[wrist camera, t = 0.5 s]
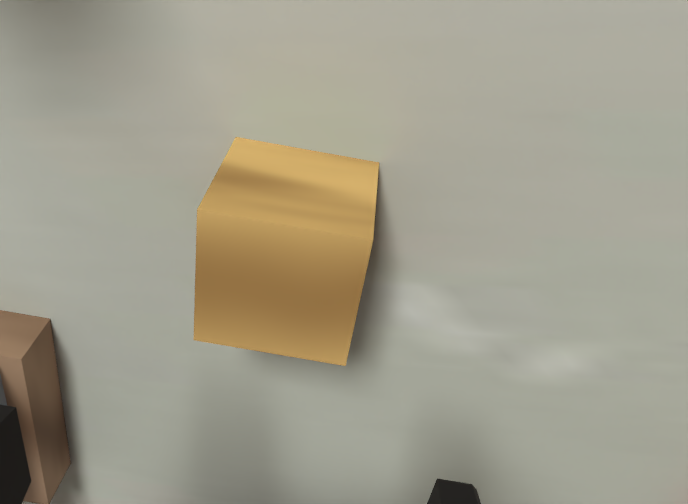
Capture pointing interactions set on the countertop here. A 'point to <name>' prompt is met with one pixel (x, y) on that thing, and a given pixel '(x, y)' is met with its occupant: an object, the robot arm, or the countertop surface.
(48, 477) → the tower base
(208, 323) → the ochre cube
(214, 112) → the countertop surface
